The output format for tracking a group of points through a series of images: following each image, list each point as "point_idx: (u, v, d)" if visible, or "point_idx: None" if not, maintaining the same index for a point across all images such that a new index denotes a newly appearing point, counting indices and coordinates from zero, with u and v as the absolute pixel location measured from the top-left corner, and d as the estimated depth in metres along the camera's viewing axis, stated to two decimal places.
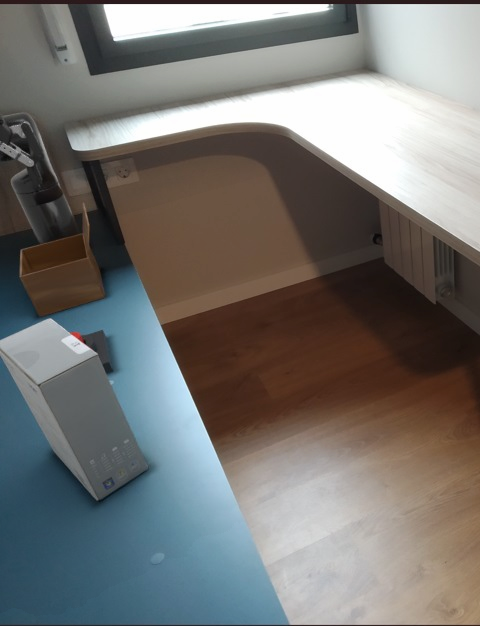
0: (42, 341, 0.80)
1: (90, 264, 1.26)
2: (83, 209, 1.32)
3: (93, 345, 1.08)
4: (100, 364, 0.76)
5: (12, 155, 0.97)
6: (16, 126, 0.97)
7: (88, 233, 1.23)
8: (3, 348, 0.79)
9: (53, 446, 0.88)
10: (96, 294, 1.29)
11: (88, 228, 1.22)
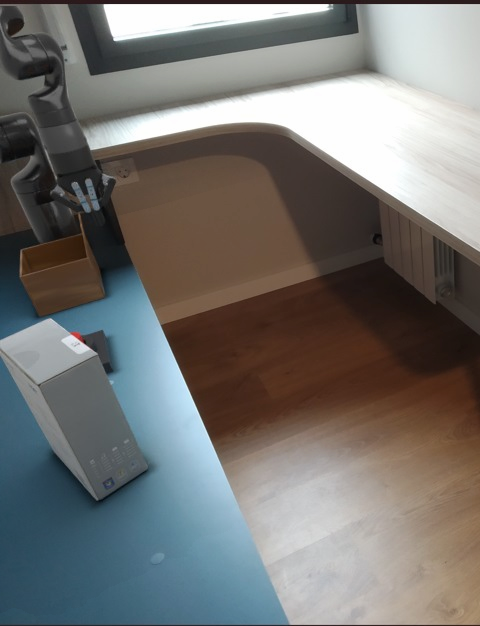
0: (42, 341, 0.80)
1: (90, 264, 1.26)
2: None
3: (93, 345, 1.08)
4: (100, 364, 0.76)
5: (91, 197, 1.25)
6: (107, 176, 1.26)
7: (83, 233, 1.22)
8: (3, 348, 0.79)
9: (53, 446, 0.88)
10: (96, 294, 1.29)
11: (81, 228, 1.22)
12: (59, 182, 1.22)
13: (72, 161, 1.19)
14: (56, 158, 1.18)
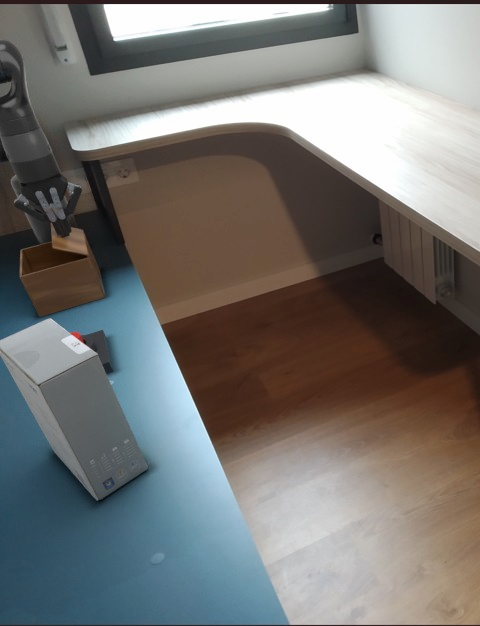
0: (42, 341, 0.80)
1: (90, 264, 1.26)
2: None
3: (93, 345, 1.08)
4: (100, 364, 0.76)
5: (56, 206, 1.23)
6: (72, 185, 1.24)
7: (62, 249, 1.22)
8: (3, 348, 0.79)
9: (53, 446, 0.88)
10: (96, 294, 1.29)
11: (56, 248, 1.21)
12: (22, 191, 1.20)
13: (34, 170, 1.17)
14: (18, 167, 1.16)
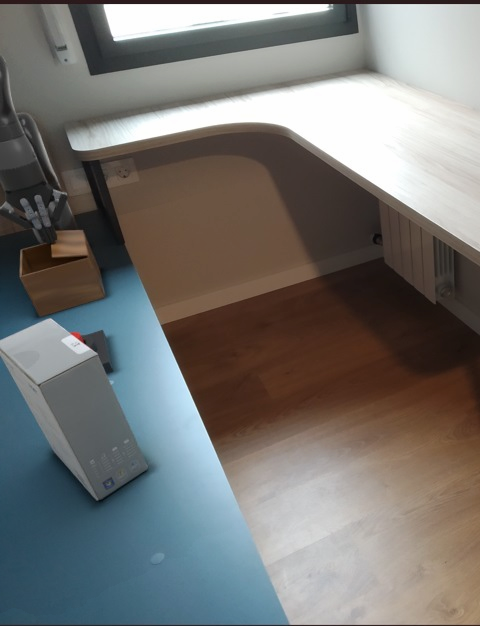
0: (42, 341, 0.80)
1: (90, 264, 1.26)
2: None
3: (93, 345, 1.08)
4: (100, 364, 0.76)
5: (41, 213, 1.22)
6: (58, 192, 1.23)
7: (61, 256, 1.22)
8: (3, 348, 0.79)
9: (53, 446, 0.88)
10: (96, 294, 1.29)
11: (55, 256, 1.22)
12: (7, 198, 1.19)
13: (19, 177, 1.16)
14: (2, 174, 1.16)
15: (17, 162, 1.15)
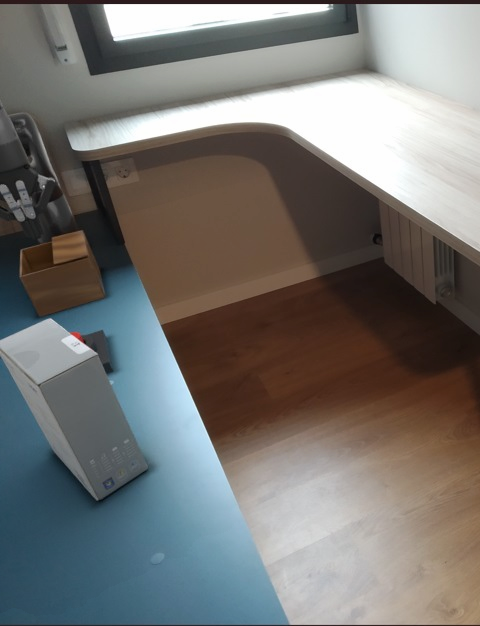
0: (42, 341, 0.80)
1: (90, 264, 1.26)
2: None
3: (93, 345, 1.08)
4: (100, 364, 0.76)
5: (24, 202, 1.04)
6: (44, 178, 1.05)
7: (63, 261, 1.23)
8: (3, 348, 0.79)
9: (53, 446, 0.88)
10: (96, 294, 1.29)
11: (57, 263, 1.23)
12: None
13: None
14: None
15: None
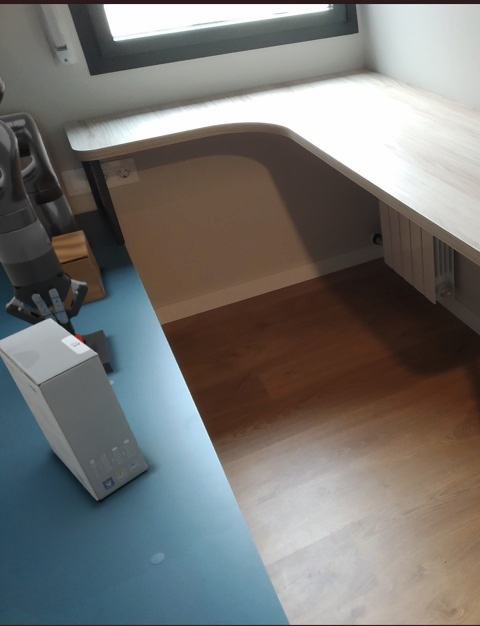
0: (42, 341, 0.80)
1: (90, 264, 1.26)
2: None
3: (93, 345, 1.08)
4: (100, 364, 0.76)
5: (57, 309, 1.02)
6: (76, 283, 1.03)
7: (63, 261, 1.23)
8: (3, 348, 0.79)
9: (53, 446, 0.88)
10: (96, 294, 1.29)
11: None
12: (16, 294, 0.99)
13: (30, 272, 0.96)
14: (11, 269, 0.95)
15: (29, 254, 0.95)
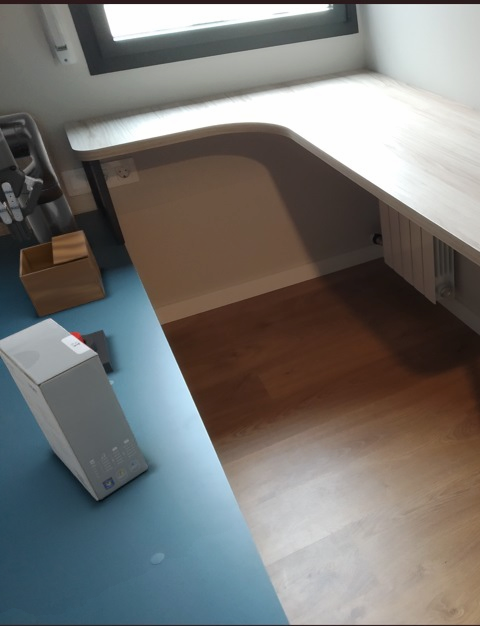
0: (42, 341, 0.80)
1: (90, 264, 1.26)
2: None
3: (93, 345, 1.08)
4: (100, 364, 0.76)
5: (11, 204, 1.01)
6: (31, 179, 1.02)
7: (63, 261, 1.23)
8: (3, 348, 0.79)
9: (53, 446, 0.88)
10: (96, 294, 1.29)
11: (57, 263, 1.23)
12: None
13: None
14: None
15: None
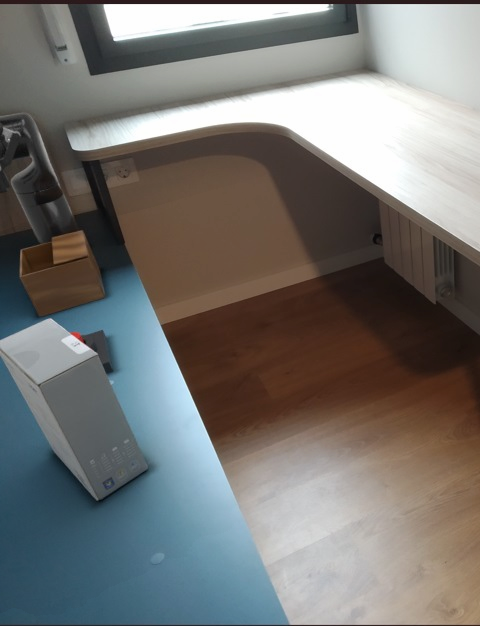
0: (42, 341, 0.80)
1: (90, 264, 1.26)
2: None
3: (93, 345, 1.08)
4: (100, 364, 0.76)
5: None
6: (9, 131, 1.06)
7: (63, 261, 1.23)
8: (3, 348, 0.79)
9: (53, 446, 0.88)
10: (96, 294, 1.29)
11: (57, 263, 1.23)
12: None
13: None
14: None
15: None
